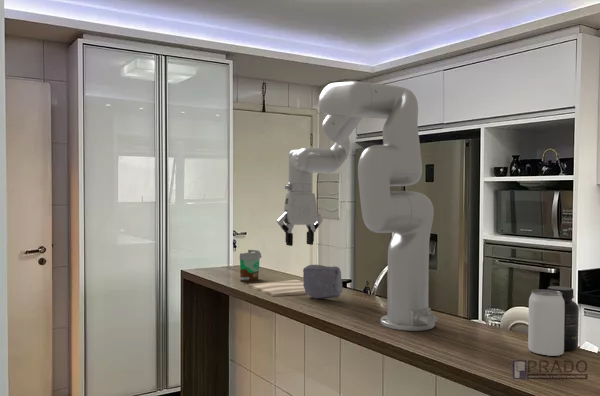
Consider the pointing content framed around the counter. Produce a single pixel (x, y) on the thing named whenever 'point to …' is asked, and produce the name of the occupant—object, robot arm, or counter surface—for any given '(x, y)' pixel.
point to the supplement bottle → (569, 317)
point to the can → (546, 322)
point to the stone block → (322, 281)
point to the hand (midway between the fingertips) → (299, 244)
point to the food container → (249, 265)
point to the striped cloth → (280, 288)
